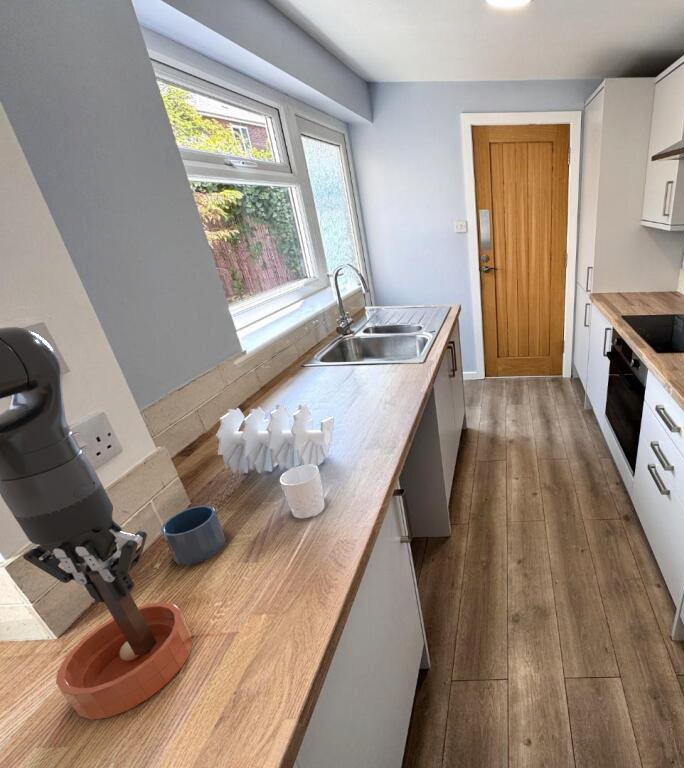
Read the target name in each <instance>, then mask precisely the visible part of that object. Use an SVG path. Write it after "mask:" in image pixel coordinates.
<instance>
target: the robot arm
mask: <svg viewBox="0 0 684 768" xmlns="http://www.w3.org/2000/svg"><path fill="white" fill-rule="evenodd" d="M62 377H63V375H62V369H61V363H60V360H59V357H58V355H57V353H56V351H55V349H54V348H53V346H52V345H51V344H50V343H49V342H48V341H47V340H46V339H45V338H43V337H42V336H41V335H39V334H37V333H35V331H32V330H29V329H27V328H23V327H17V326H8V327H7V326H6V327H0V400H1V399H5V398H8V397H11V399H10V403H9V406H8V408H6V410H4V411H3V412H2V413H0V497H1V499H2V500H3V502H4V503H5V506H6V507H7V508H8V509H9V512H10V513H11V514H12V516H13V517H14V519H15V520H16V522H17V523H18V525H19V526H20V529H21V530H22V532H23V533H24V535H25V536H26V538H27V539H28V541H29V542H30V543H32V544H34V546H33V547H31V548H30V549H29V550H27V552H25V553H24V554H23V555H22V558H23V559H24V560H25V561H27V562H28V563H30V564H32V565H34V566H35V567H36V568H38V569H40V570H42V571H43V572H45V573H47V574H48V575H50V576H52V578H55V579H56V580H58V581H59V582H61V583H64V584H65V583H66V584H68V583H70V582H71V581H75V582H76V583H77V584H78V585H80V586H84V587H85V589H86V591H87V592H88V594H89V595H90V597H91V598H92V599H93V600H94V601H95V602H96V603H97V604H99V603H100V604H101V603H104V601H103V599H102V598H101V596H100V594H99V592H98V591H97V589H96V587H95V586H94V584H93V583H92V581H91V579H90V577H89V576H88V575H89V574H90V573H91V572H92V571H98V572H99V573H100V575H101V576H102V578H103V579H104V580H105V581H106V582H105V584H106V585H107V587H108V589H109V590H110V592H111V594H112V596H113V597H114V599H115V600H116V601H120V600H124V599H125V598H126V597H127V596H128V595H129V593H130V594H131V593H132V591H133V590H134V588H135V583H134V581H133V579H132V578H131V576H130V572H131V571H132V570H133V569H134V568H135V567H136V566H137V565H138V564H139V562H140V561H141V558H142V555H143V552H144V546H145V544H146V540H147V537H148V533H147V532H146V531H144V530H138V531H136V533H135V534H133V533H129V532H125V531H123V528H122V526H121V525H119V524H118V523H117V522H115V521H114V520H113V512H114V505H113V502H112V501H111V498H110V496H109V495H108V493H107V491H106V490H105V487H104V485H103V483H102V482H101V480H100V478H99V476H98V474H97V472H96V470H95V469H94V466H93V464H92V462H91V461H90V460H89V459H88V458H87V457H86V455H85V454H84V452H83V451H82V449H81V447H80V446H79V443H78V441H77V439H76V438H75V435H74V434H73V432H72V430H71V428H70V426H69V425H68V422H67V418H66V411H65V410H66V409H65V403H64V402H65V401H64V395H63V378H62ZM111 563H113V564H114V567H113V568H111V567H110V565H111ZM60 564H61V565H62V567H63V568H62V567H60Z"/></svg>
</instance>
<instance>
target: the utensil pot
mask: <svg viewBox="0 0 684 768" xmlns="http://www.w3.org/2000/svg"><path fill="white" fill-rule="evenodd" d="M160 531H161V534H162V537H163V539H164V541H165V543H166V545H167V547H168V549H169V551H170V553H171V556H172V558H173V560H174V562H175V563H176V564H178V565H182V566H189V565H195V564H198V563H201V562H203V561H206V560H208V559H209V558H211V557H212V556H214V555H216V554H217V553H218V552H220V550H221V549H222V548H223V547H224V545H225V543H226V541H227V537H226V535H225V533H224V530H223V527H222V525H221V523H220V520H219V517H218V515H217V512H216V510H215V508H214V507H213V506H211V505H198V506H193V507H189V508H187V509H184V510H182V511H179V512H178V513H175V514H174V515H172V516H171V517H170V518H168V519H167V520H166V521H165V522H164V523H163V524H162V527H161V529H160Z"/></svg>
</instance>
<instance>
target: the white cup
mask: <svg viewBox="0 0 684 768" xmlns="http://www.w3.org/2000/svg"><path fill="white" fill-rule="evenodd" d="M279 483H280V486H281V488H282V491H283V494H284V496H285V499H286V501H287V503H288V506H289V508H290V511H291V514H292V516H294V518H295V519H308V518H311V517H313V518H314V517H316V516H318V515H319V514H320V513H322V511H324V509H325V500H324V499H325V498H324V491H323V486H322V480H321V475H320V470H319V467H318V466H315V465H303V464H299V465H297V466H295V467H293V468H291V469H289V470H288V469H287V470H286V471H285V472H283V473H282V475H280V477H279Z"/></svg>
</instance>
